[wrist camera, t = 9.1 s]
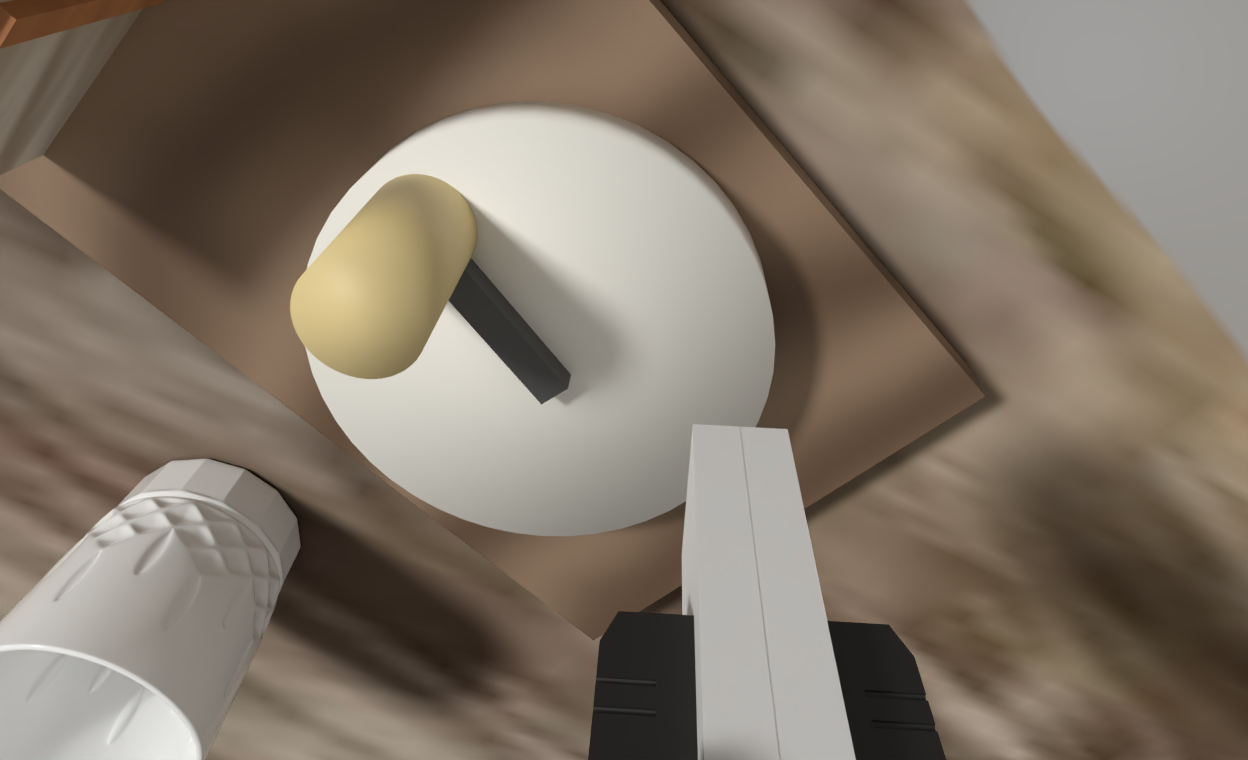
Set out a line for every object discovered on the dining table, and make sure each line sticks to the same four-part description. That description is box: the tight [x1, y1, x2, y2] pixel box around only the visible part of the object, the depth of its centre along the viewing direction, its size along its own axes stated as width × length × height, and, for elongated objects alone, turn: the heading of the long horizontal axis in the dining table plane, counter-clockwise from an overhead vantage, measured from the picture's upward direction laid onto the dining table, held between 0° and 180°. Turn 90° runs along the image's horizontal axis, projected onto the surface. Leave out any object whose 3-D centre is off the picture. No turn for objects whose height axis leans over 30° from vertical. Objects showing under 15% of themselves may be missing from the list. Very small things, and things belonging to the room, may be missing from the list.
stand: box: [0, 0, 985, 640], centre depth 24 cm, size 27×18×9 cm, turn 43°
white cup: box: [0, 459, 301, 760], centre depth 31 cm, size 8×8×10 cm
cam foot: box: [290, 101, 775, 536], centre depth 24 cm, size 14×14×8 cm
